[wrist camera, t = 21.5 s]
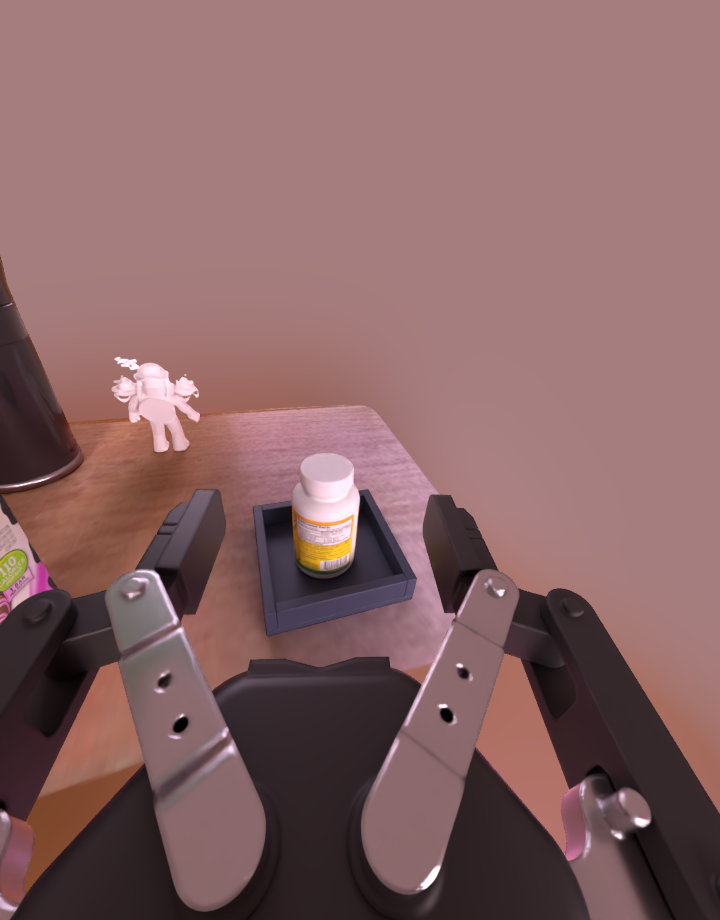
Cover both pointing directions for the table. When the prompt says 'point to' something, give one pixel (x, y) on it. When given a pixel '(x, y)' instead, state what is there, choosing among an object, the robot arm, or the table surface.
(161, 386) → the hat wearing toy figure
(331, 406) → the table surface
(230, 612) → the table surface
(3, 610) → the candy bar box
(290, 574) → the tray
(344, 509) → the supplement bottle
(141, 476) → the table surface
